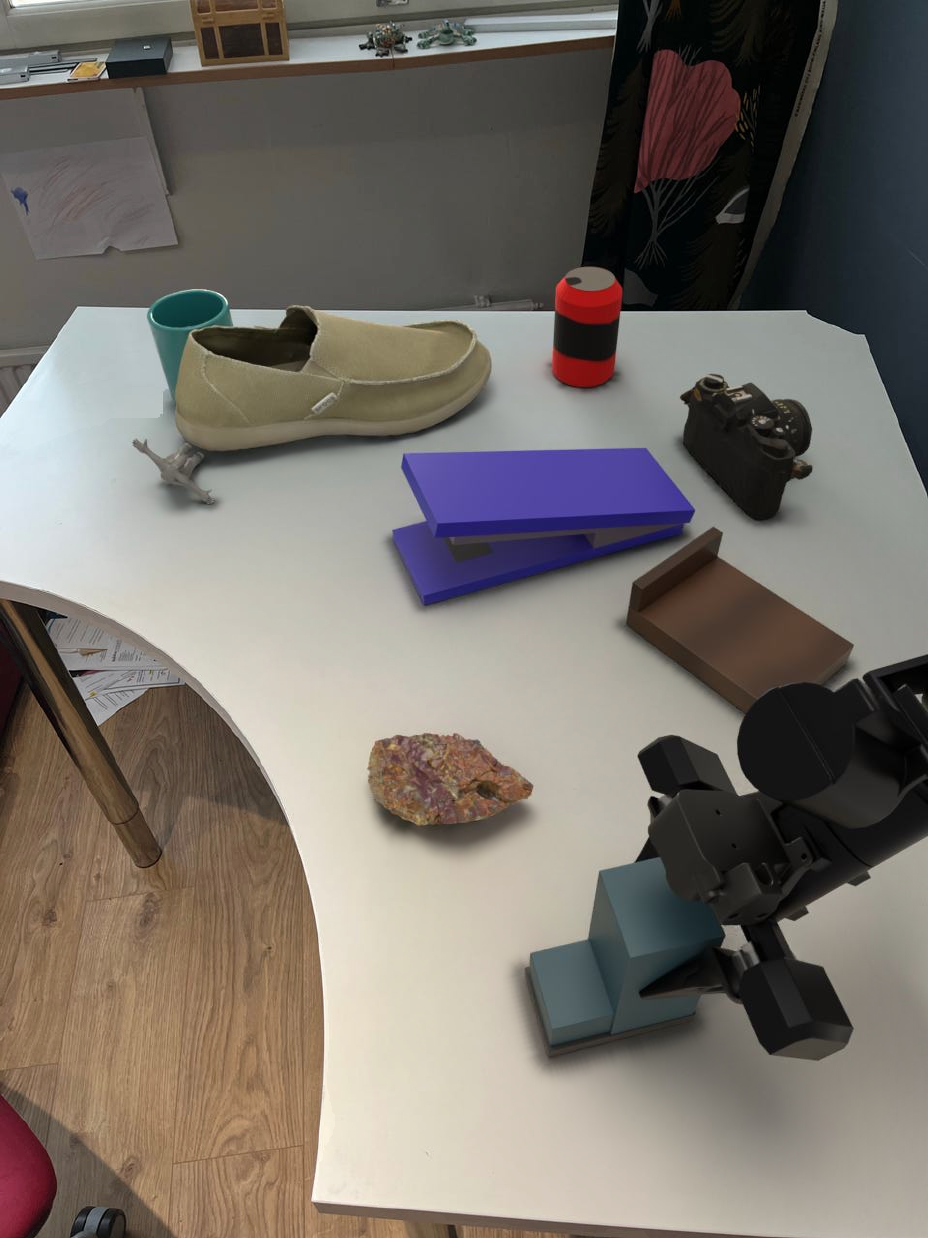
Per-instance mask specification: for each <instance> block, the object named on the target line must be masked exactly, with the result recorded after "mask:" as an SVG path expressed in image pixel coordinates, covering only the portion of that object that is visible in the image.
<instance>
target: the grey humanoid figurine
mask: <svg viewBox="0 0 928 1238" xmlns="http://www.w3.org/2000/svg"><path fill="white" fill-rule="evenodd" d="M131 444H132V446H133V447H134V448H135V449H136V450H137V451H138V452H140V453H141V454H145V455H146V456H147V457H148V458H149V459H150V460H151V461H152V462H153V463H154V464H155V465H156V466H157V468H158V470H159V472H160V478H161V479H162V480H163V481H164V482H165V483H167V484H173V485H174V484H175V485H179V486H182V487H184V488H186V489H187V490H189V491H191V492H192V493H194V494H195V495H197V497H198V498H199V499H200V500H201V501H203V502H204V503H207V504H208V505H210V504H213V503H214V500H215V498H213V497H211V495H209V493H211V492H212V489H208V490H204V489H201V488H200V487H199V486H197V484H195V482H194V481H193V480H192V479H190V477H191V475H192V473H193V470H194V468H195V467H196V466H198V465H199V464H201V463H202V461H203V460H204V456H205V455H204V453H203V452H202V451H198V452H195V453H194V455H192V457H187V455H188V454H189V453H190V452H191V450H192V445H191V443H190V442H185V443H183V444H181V446H180V448H179V449H178V450H177V451H175V452H174V453H171V454H169V455H167V456H166V457H165V458H164V457H161V456H159V455H158V454H156V453H155V452H154V451H152V449H150V448H149V446H148V439H147V438H145V439H144V441H143V443H142V442H141V441H140V440H138V439H137V438H135V439H133V440H132V442H131Z"/></svg>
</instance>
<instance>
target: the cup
mask: <svg viewBox="0 0 928 1238" xmlns="http://www.w3.org/2000/svg"><path fill="white" fill-rule="evenodd" d="M146 319H147V322H148V325H149V329H150V331H151V332H150V333H151V335H152V339H153V342H154V345H155V348H156V352H157V354H158V358H159V361H160V364H161V367H162V370H163V371H162V372H163V374H164V378H165V381H166V384H167V387H168V391H169V393H170V396H171V400H172V401H173V403H174V404H175V405H176V404H177V403H176V399H175V389H176V385H177V380H178V374H179V368H180V363H181V359H182V355H183V351H184V348H185V345H186V342H187V339H188V336H189V333H190V332H191V331H193V330H195V329H197V330H200V329H202V328H204V327H210V326H213V325H215V326H224V327H225V326H227V327H231V326H232V327H235V325H234V323H233V317H232V314H231V309H230V306H229V302H228V300H227V298H226V297H224V295H222V294H221V293H218V292H216V291H213V290H207V289H187V290H181V291H177V292H173V293H170V294H167V295H165V296H163V297H161V298H159V299H158V300H156V301H155V302H154V303H153V304H152V305H151V306H150V307H149V308H148V310H147V313H146Z"/></svg>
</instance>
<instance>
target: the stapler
mask: <svg viewBox="0 0 928 1238" xmlns="http://www.w3.org/2000/svg"><path fill="white" fill-rule="evenodd" d="M400 469H401V470H402V473H403V475H404V477H405V479H406V481H407V484H408V485H409V488H410V490H411V491H412V494H413V496H414V498H415V500H416V503H417V504H418V506H419V508H420V511H421V513H422V514H423V517H424V519H425V521H421V522H418V523H417V522H416V523H413V524H409V525H406V526H403V527H402V526H401V527H397V528H395V529H391V530H392V531H391V533H392V534H391V535H392V540H393V543H394V545H395V547H396V549H397V551H398V553H399V555H400V557H401V560H402V562H403V563H404V566H405V568H406V570H407V572H408V574H409V576H410V579H411V581H412V582H413V585H414V587H415V589H416V591H417V593H418V596H419V597H420V599H421V602H422V604H423V606H427V605H431V604H435V603H439V602H442V601H445V600H449V599H452V598H453V599H454V598H456V597H460V596H463V595H466V594H470V593H474V592H477V591H481V590H485V589H488V588H491V587H495V586H498V585H502V584H505V583H509V582H514V581H517V580H520V579H524V578H528V577H531V576H534V575H539V574H541V573H545V572H549V571H553V570H556V569H560V568H563V567H567V566H571V565H574V564H578V563H580V562H581V563H582V562H585V561H588V560H592V559H595V558H599V557H602V556H603V557H604V556H606V555H610V554H613V553H616V552H620V551H621V552H622V551H624V550H627V549H630V548H631V549H632V548H635V547H638V546H641V545H645V544H649V543H653V542H656V541H660V540H663V539H667V538H671V537H674V536H678V535H681V534H683V530H684V525H685V524H691V522H692V519H693V517H694V515H695V513H696V508H695V507H694V506H693V504H691V502H690V501H689V500H688V499H687V497H686V496H685V495H684V494H683V492H682V491H681V490H680V489H679V487H678V486H677V485H676V484H675V482H674V481H673V480H672V478H670V476H669V474H668V473H667V472H666V471H665V469H664V468H663V467H662V466H661V464H660V463H659V462H658V460H657V459H655V457H654V456H653V455H652V453H651V452H650V451H649V450H648V447H628V448H627V447H622V448H621V447H619V448H618V447H617V448H579V449H578V448H576V449H573V448H571V449H537V450H536V449H531V450H529V449H528V450H527V449H526V450H488V451H482V450H481V451H446V452H445V451H444V452H443V451H441V452H440V451H439V452H437V451H436V452H403V454H402V460H401V465H400Z"/></svg>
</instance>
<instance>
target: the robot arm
mask: <svg viewBox="0 0 928 1238" xmlns="http://www.w3.org/2000/svg"><path fill="white" fill-rule="evenodd" d="M861 678H862V680H863V681H862V680H861V679H860V678H858V677H857V678H852V679H850V680H849V681H847V682H846V683H844V684H843V685H842V686H840V687H839V688H837V689H835V690H834V691H833V690H832V689H830V688H827V687H826V686H823V685H819V684H814V683H808V682H797V683H789V684H786V685H783V686H780V687H773V688H771V689H770V690H768V691H766V692H765V693H763V694H762V695H761V696H760V697H759V698H758V699H757V700H756V701H755V702H754V703H753V704H752V705H751V707H750V708H749V710H748V711H747V713H744V717H743V719H742V721H741V723H740V725H739V727H738V728H739V729H738V734H737V738H736V755H737V759H738V763H739V767H740V769H741V772H742V774H743V775H744V777H745V778H746V780H747V781H748V782H749V783H750V784H751V785H752V786H753V788H755V789H756V790H757V791H754V792H750V793H749V792H748V793H746V794H742V795H739V794H738V793H737V790H736V789H735V787H734V784H733V782H732V780H731V779H730V777H729V774H728V773H727V770H726V769H725V766H724V764H723V763H722V761H721V758H720V756H719V755H718V753H716V752H714V751H711V750H709V749H708V748H706V747H703V746H702V745H699V744H697V743H695V742H693V741H691V740H688V739H687V738H685V737H683V736H680V735H675V734H668V735H664V736H663V735H662V736H658V737H657V738H655V739H654V740H653V741H651V742H650V743H648V744H647V745H646V746H645V747H643V748H642V749H640V750H639V751H638V753H637V755H636V757H637V760H638V762H639V764H640V767H641V768H642V771H643V773H644V776H645V778H646V780H647V782H648V785H649V787H650V790H651V791H652V792H654V793H657V794H660V795H662V796H661V797H657V796H654V795H650V797H648V800H647V809H648V811H649V816H650V817H649V819H650V821H649V825H648V827H647V834H648V837H647V839H646V841H645V843H644V845H643V847H642V848H641V850H640V852H639V853H638V856H637V857H636V859H635V860H634V862H633V863H635V862H640V861H644V860H649V859H653V858H657V857H660V858H661V860H662V863H663V865H664V868H665V870H666V879H667V882H668V884H669V886H670V888H671V890H672V891H673V892H674V893H675V894H676V895H677V896H678V897H680V898H681V899H683V900H686V901H699V900H702V902H703V904H704V905H709V906H711V907H712V909H713V910H714V912H715V915H716V917H717V919H718V922H719V924H721V925H722V926H724V927H725V926H739V927H740V929H741V931H742V933H743V935H744V938H745V940H746V942H747V943H745V944H743V945H741V946H740V949H739V950H734V949H729V948H725V947H722V946H721V947H717V946H713V945H711V946H709V947H708V949H707V951H706V952H705V954H704V955H703V957H702V958H701V959H699V960H697V961H695V962H693V963H691V964H688V965H686V966H684V967H682V968H680V969H678V970H676V971H673V972H671V973H669V974H667V975H665V976H663V977H661V978H659V979H656V980H655V981H653V982H652V983H650V984H649V985H648V986H646V987H645V988H643V989H642V990H641V991H639V995H640V998H641V999H646V1000H655V999H666V998H676V997H687V996H697V995H700V996H705V995H706V996H707V995H720V994H725V995H726V996H727V999H729V1000H730V1001H731V1002H733V1003H734V1004H738V1005H742V1007H743V1008H744V1011H745V1013H746V1015H747V1018H748V1020H749V1022H750V1024H751V1027H752V1029H753V1032H754V1034H755V1036H756V1038H757V1041H758V1043H759V1044H760V1046H761V1047H762V1048H763V1049H764V1050H765V1051H766V1052H767V1054H768V1055H769V1056H773V1057H774V1056H775V1057H781V1058H782V1057H783V1058H791V1059H800V1060H806V1061H807V1060H808V1061H816V1062H819V1061H821V1060H823V1059H825V1058H828V1057H829V1056H832V1055H834V1054H835V1053H838V1052H840V1051H842V1050H844V1049H845V1048H846V1046H848V1044H849V1042H850V1040H851V1036H852V1033H853V1031H854V1029H855V1028H854V1026H853V1024H852V1022H851V1020H850V1018H849V1015H848V1013H847V1012H846V1010H845V1008H844V1006H843V1003H842V1002H841V999H840V997H839V996H838V994H837V992H836V989H835V987H834V985H833V984H832V982H831V979H830V977H829V976H828V974H827V971H826V970H825V968H824V966H822V965H818V964H814V963H811V962H806V961H802V960H798V959H797V956H796V955H795V953H794V952H793V951H792V949H791V948H790V946H789V943H788V941H787V939H786V937H785V935H784V933H783V931H782V929H781V927H780V925H779V922H781V921H783V920H784V919H785V920H789V921H792V922H797V921H798V920H799V919H801V918H804V917H806V916H807V915H808V914H810V911H809V910H808V907H807V906H808V905H809V906H810V904H812V903H814V902H816V901H818V900H819V899H821V898H823V897H825V896H826V895H828V894H830V893H831V892H834V891H835V890H837V889H839V888H840V887H842V886H844V885H845V884H847V885H849V886H853V887H857V886H859V885H861V884H862V883H865V882H866V881H868V880H870V879H872V878H871V875H870V873H869V871H870V870H871V869H874V868H875V867H876V866H878V865H881V864H882V863H884V862H885V861H887V860H889V859H890V858H893V857H894V856H896V855H897V854H900V853H901V852H903V851H905V850H907V849H909V848H910V847H911V846H913V845H915V844H917V843H918V842H920V841H922V840H924V839H926V838H927V837H928V653H927V654H923V655H920V656H919V655H918V656H917V657H913V658H910V659H906V660H902V661H900V662H899V661H898V662H896V663H892V664H889V665H885V666H882V667H878V668H875V669H872V670H869V671H866V672H865V673H864V674H863V675H862V677H861ZM917 695H922V696H921V698H920V699H921V700H919V699H918V697H917Z"/></svg>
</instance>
